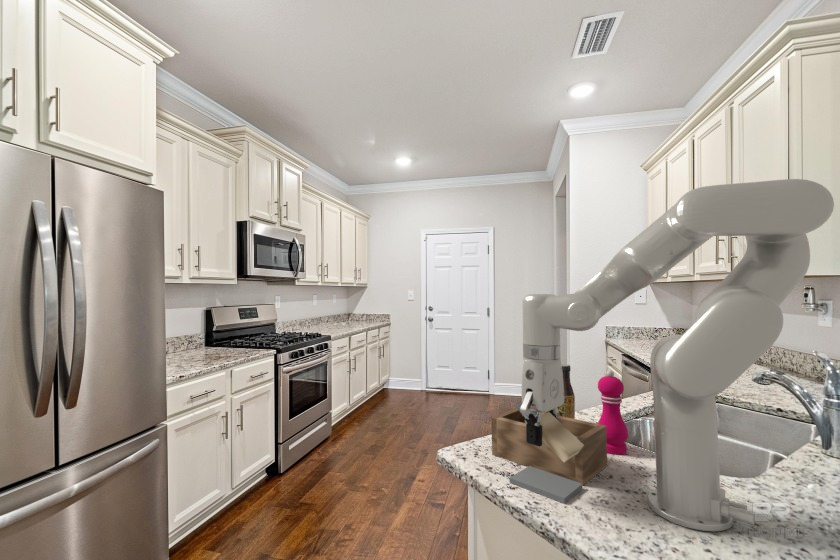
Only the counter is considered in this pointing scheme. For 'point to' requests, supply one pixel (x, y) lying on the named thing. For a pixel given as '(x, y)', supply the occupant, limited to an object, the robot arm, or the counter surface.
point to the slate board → (546, 484)
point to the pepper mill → (613, 413)
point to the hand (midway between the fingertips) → (542, 439)
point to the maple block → (559, 438)
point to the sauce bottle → (567, 395)
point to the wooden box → (516, 449)
